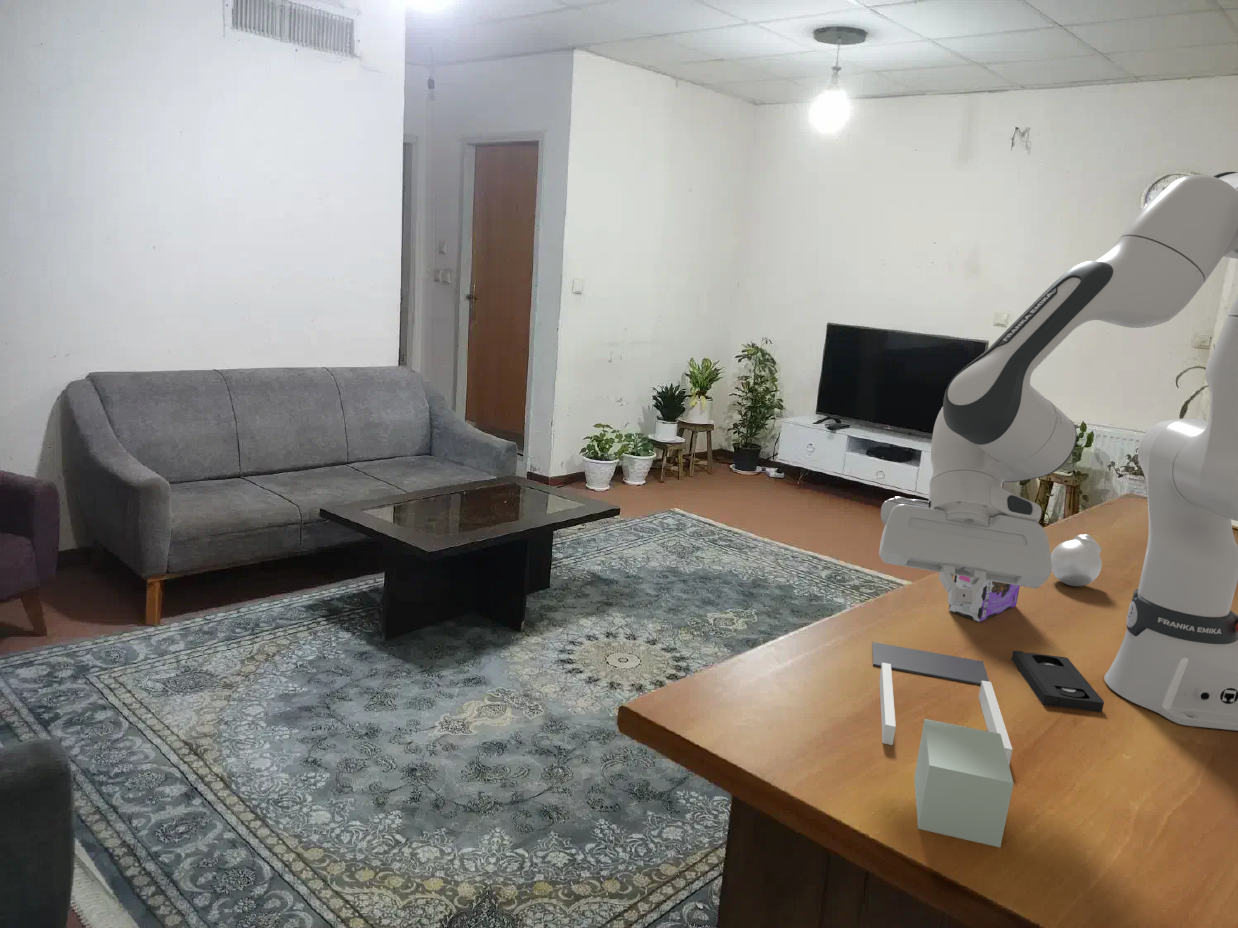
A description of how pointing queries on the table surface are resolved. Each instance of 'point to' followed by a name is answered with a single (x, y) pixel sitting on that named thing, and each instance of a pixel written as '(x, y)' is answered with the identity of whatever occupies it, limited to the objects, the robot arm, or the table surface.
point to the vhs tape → (1056, 681)
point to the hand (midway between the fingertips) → (961, 604)
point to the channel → (940, 668)
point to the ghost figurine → (1077, 561)
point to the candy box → (987, 598)
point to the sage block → (962, 783)
